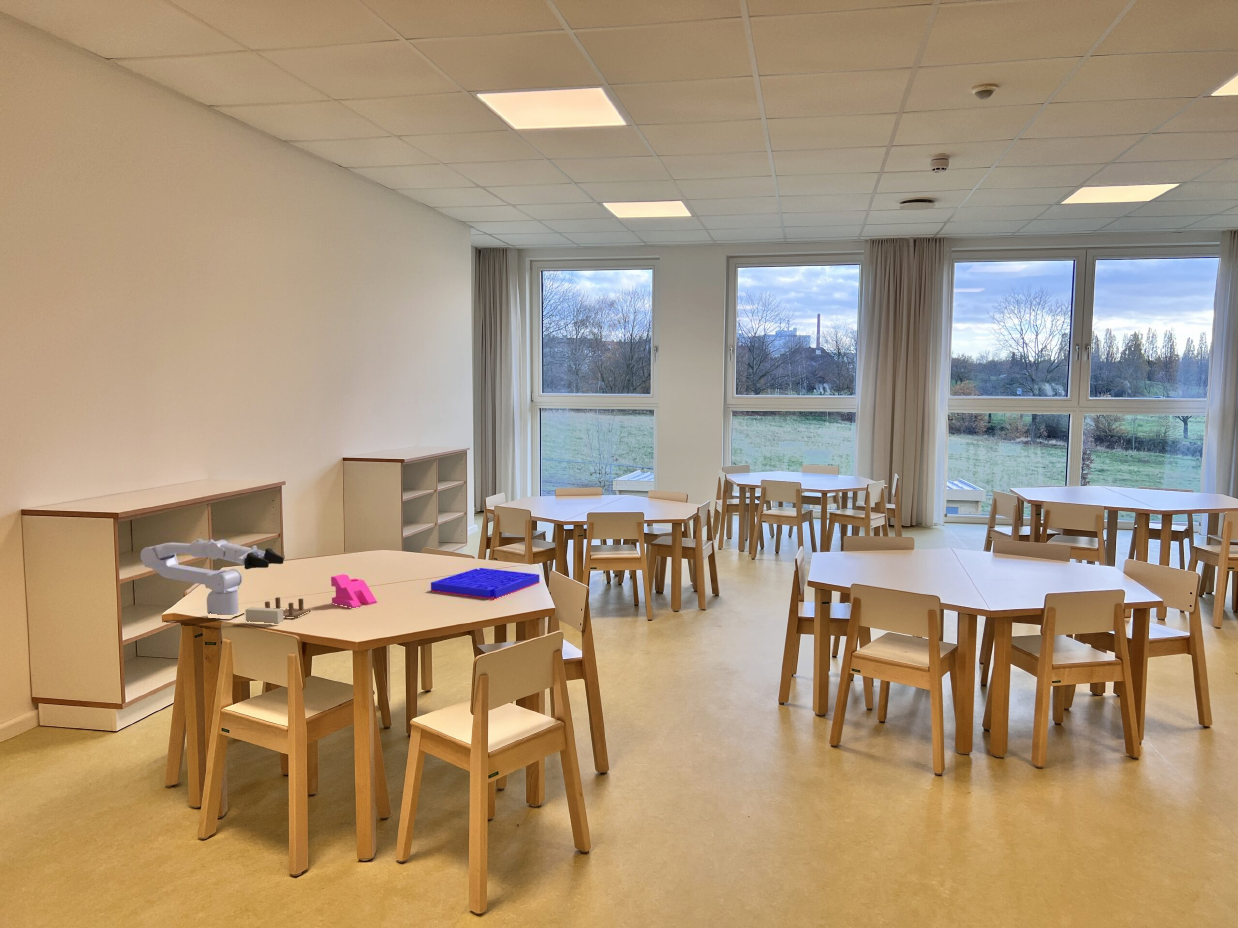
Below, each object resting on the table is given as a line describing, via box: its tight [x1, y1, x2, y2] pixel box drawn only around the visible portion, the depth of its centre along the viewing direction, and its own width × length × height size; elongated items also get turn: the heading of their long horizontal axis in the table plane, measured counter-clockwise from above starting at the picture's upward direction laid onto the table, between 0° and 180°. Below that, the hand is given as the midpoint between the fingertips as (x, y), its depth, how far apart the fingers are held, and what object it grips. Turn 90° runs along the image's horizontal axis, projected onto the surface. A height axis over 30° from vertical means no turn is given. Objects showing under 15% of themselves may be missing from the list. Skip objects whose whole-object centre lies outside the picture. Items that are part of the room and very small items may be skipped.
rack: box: [264, 596, 311, 619], centre depth 286 cm, size 14×9×5 cm, turn 78°
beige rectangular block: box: [244, 606, 285, 624], centre depth 275 cm, size 12×3×5 cm, turn 78°
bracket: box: [330, 573, 378, 609], centre depth 300 cm, size 12×10×10 cm
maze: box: [430, 567, 540, 600], centre depth 324 cm, size 30×30×4 cm
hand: (275, 562), depth 277 cm, fingers open, 7 cm apart
